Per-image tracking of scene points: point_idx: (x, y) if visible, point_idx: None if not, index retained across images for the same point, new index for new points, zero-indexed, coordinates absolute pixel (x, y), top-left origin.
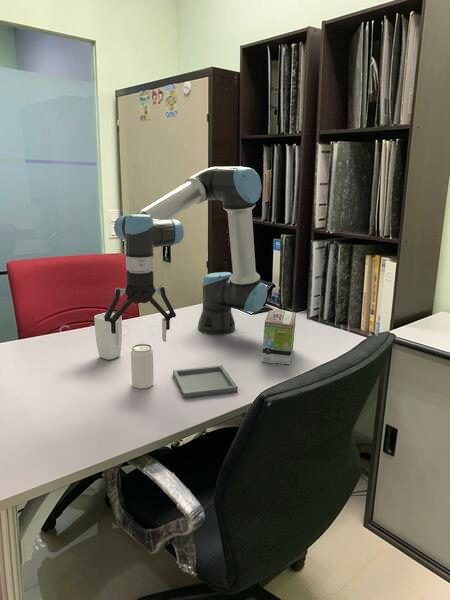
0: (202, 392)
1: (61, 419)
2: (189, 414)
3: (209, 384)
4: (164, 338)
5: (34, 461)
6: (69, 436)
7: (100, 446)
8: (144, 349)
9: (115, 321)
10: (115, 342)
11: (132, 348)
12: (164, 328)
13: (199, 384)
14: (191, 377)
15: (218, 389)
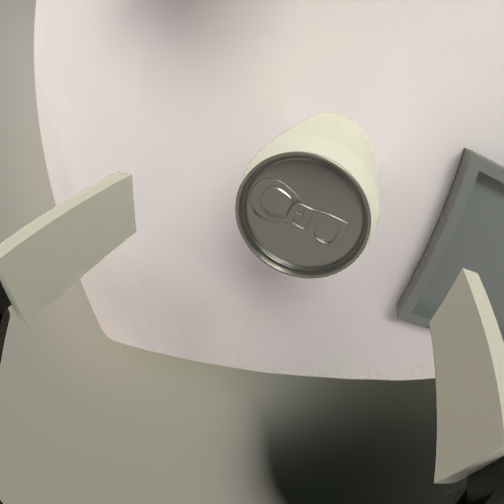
0: None
1: None
2: (360, 356)
3: (498, 287)
4: (436, 342)
5: (111, 311)
6: (136, 291)
7: (180, 337)
8: (312, 240)
9: (5, 325)
10: None
11: (236, 207)
12: (442, 413)
13: (481, 273)
14: (498, 217)
15: None
